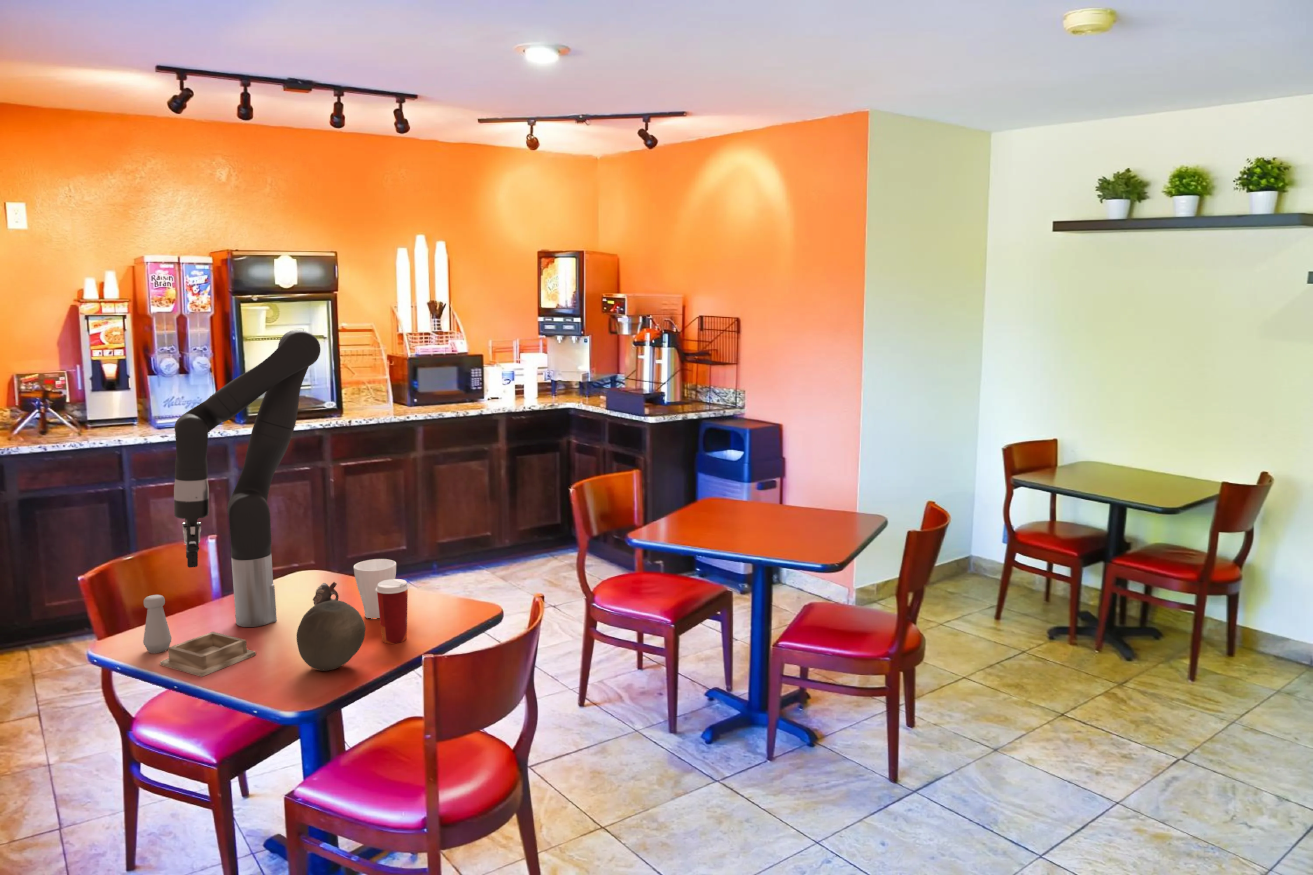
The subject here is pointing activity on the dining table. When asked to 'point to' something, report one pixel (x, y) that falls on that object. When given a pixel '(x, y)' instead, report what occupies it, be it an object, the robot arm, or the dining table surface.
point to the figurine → (325, 593)
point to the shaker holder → (207, 654)
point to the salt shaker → (156, 625)
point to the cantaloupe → (330, 635)
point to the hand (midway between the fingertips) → (191, 562)
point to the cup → (372, 582)
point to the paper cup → (393, 609)
